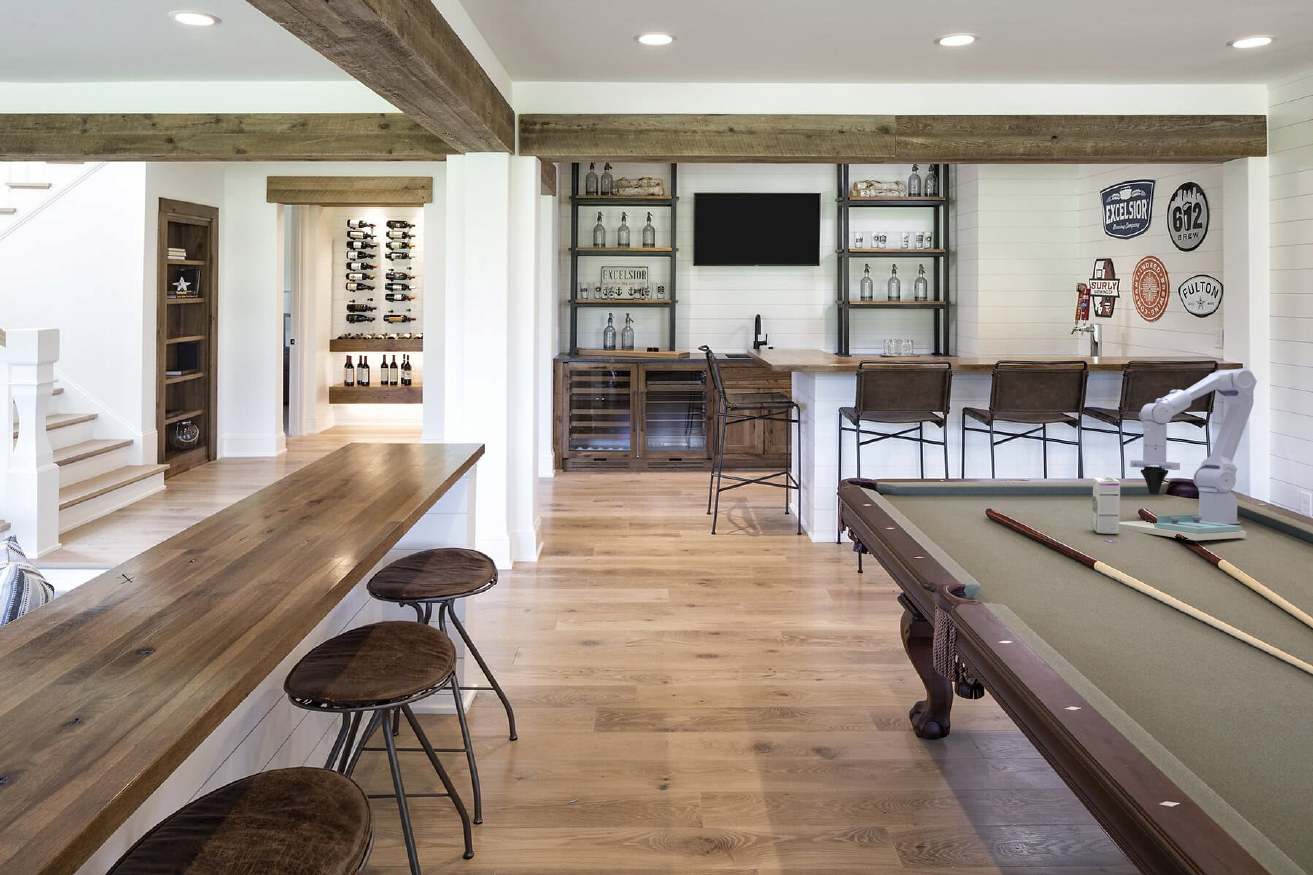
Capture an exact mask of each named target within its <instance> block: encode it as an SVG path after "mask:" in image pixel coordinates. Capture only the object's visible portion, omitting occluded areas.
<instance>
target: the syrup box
mask: <svg viewBox="0 0 1313 875" xmlns="http://www.w3.org/2000/svg"><path fill="white" fill-rule="evenodd" d="M1092 483H1093V485H1092V512H1091V513H1092V514H1091V516H1092V517H1091V529H1092V530H1093V531H1095V533H1097V534H1110V535H1111V534H1113V535H1114V534H1116V535H1118V534H1119V531H1120V527H1119V522H1120V506H1121V481H1119V480H1118V479H1116V478H1115V477H1107V476H1106V477H1105V476H1104V477H1093V482H1092Z"/></svg>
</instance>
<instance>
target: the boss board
mask: <svg viewBox="0 0 1313 875" xmlns="http://www.w3.org/2000/svg"><path fill="white" fill-rule="evenodd" d="M1191 519H1193V520H1194V523H1200V520H1202V517H1201V516H1199V515H1198V516H1192V518H1191ZM1170 520H1171V521H1172V524H1178V521H1180V518H1179V517H1170ZM1146 521H1147V520H1136V521H1135V520H1134V521H1131V520H1130V521H1119V528H1121V529H1125V530H1129V531H1134V532H1138V533H1143V534H1149V535H1156V536H1164V537H1168V538H1169V537H1171V538H1176V537H1175V536H1176V534H1180V535H1182V536H1184V537H1187V538H1188V539H1187V540H1190V541H1206V540H1207V541H1211V540H1223V539H1224V540H1225V539H1226V540H1227V539H1243V538H1245V539H1246V538H1247V531H1246V530H1242V531H1229V532H1211V533H1192V532H1184V531H1177V530H1170V529H1162V528H1155V527H1154V524H1153V523H1150V522H1146Z"/></svg>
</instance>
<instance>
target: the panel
mask: <svg viewBox="0 0 1313 875" xmlns="http://www.w3.org/2000/svg"><path fill="white" fill-rule="evenodd" d="M1192 516H1199V513H1184V514H1183V513H1181V514H1180V513H1179V514H1163V515H1162V514H1161V515H1160V514H1159V515H1156V521H1157V523H1154V527H1155V528H1162V529H1170V530H1177V531H1184V532H1192V533H1211V532H1229V531H1243V526H1242V525H1237V524H1236V525H1235V524H1220V523H1212V522H1203V521H1200V523H1194V520H1193V519H1191V518H1192ZM1170 517H1179V518H1180V521H1178V524H1172V521H1171V520H1170Z"/></svg>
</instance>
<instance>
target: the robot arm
mask: <svg viewBox="0 0 1313 875" xmlns="http://www.w3.org/2000/svg"><path fill="white" fill-rule="evenodd" d="M1257 382H1258V380H1257V379H1256V376H1254V374H1253V372H1252V371H1251V370H1250V369H1248V368H1246V367H1245V368H1237V369H1218V370H1216V371H1215V372H1212V373H1209V374H1208V376H1206V377H1204V378H1202V379H1201V380H1200V381H1198V382H1196V383H1194V384H1192V385H1191V386H1190V387H1188V388H1187V389H1185V390H1183V389H1172V390H1170V391H1169V394H1167V395H1166V396H1164V397H1163V396H1162V397H1161V398H1159V397H1158V398H1156V399H1155V401H1154V403H1145V404H1144V405H1143V406H1142V408H1141V410H1140V412H1138V417H1139V420H1140V421H1141V423H1142V428H1143V437H1142V438H1143V440H1142V441H1143V443H1142V444H1143V446H1142V448H1143V449H1142V460H1136V459H1135V460H1130V461H1129V462H1130V463H1129V464H1130V465H1129V466H1130V468H1143V469H1140V473H1141V475H1142V476H1143V478H1144V480H1145V482H1146V486H1147V490H1148V494H1149V495H1154V496H1155V495H1159V494H1160V492H1161V491H1160V490H1161V487H1162V485H1163V482H1164V480H1165V478H1166V477H1167V475H1168V473H1169V470H1171V471H1178V470H1179V471H1180V470H1181V463H1180V462H1175V461H1174V462H1173V461H1167V436H1168V434H1167V432H1168V430H1167V428H1168V426H1167V425H1168V423H1169V422H1170V421H1171V420H1172V418H1173V416H1176V415H1177V414H1178V413H1181V412H1183V411H1185V410H1187V409H1188V408H1190V407H1191V406H1192V401H1194V400H1196V399H1198V398H1200V397H1202V396H1204V395H1206V394H1209V393H1211V392H1213V391H1216V392H1217V393H1218V394H1219V395H1220V396H1221V398H1222V399H1224V400H1225V401H1226V402H1227V405H1228V407H1227V410H1226V413H1225V415H1224V418H1223V421H1222V424H1221V426H1220V428H1219V432H1218V434H1217V437H1216V439H1215V443H1214V444H1213V447H1212V450H1211V453H1210V455H1209V457H1207V458H1206V459H1204V460H1203V461H1202V462H1201V464H1200V466H1199V467H1198V469H1197V470H1195V472H1194V474H1193V478H1192V479H1193V483H1194V485H1195V486H1196V488H1197V490H1198V494H1199V495H1198V516H1201V517H1202V520H1200V521H1203V522H1212V523H1220V524H1228V525H1235V524H1236V525H1237V524H1240V523H1241V522H1240V521H1238V499H1237V497H1236V495H1235V494H1234V493H1233V492H1231V490H1233V488H1234V487H1235V485H1236V482H1237V479H1236V478H1237V477H1236V475H1237V471H1238V468H1237V466H1236V465H1235V464H1234V463H1233V461H1234V457H1235V456H1236V455H1235V454H1236V453H1237V451H1238V450H1237V449H1238V446H1239V445H1240V444H1239V443H1240V441H1241V439H1242V436H1243V435H1244V434H1243V433H1244V430H1245V428H1246V425H1247V423H1248V420H1249V417H1250V414H1251V412H1252V409H1253V406H1254V402H1255V401H1254V391H1255V387H1256V385H1257Z"/></svg>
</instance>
